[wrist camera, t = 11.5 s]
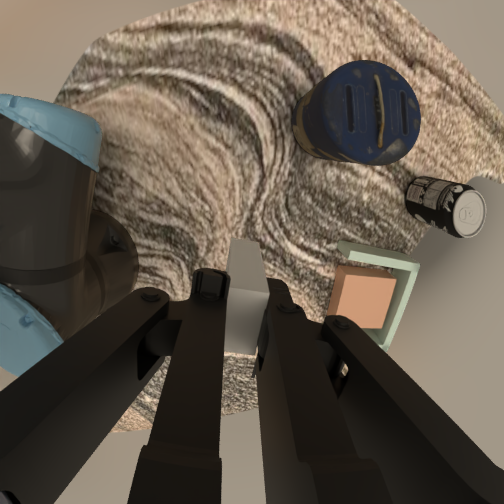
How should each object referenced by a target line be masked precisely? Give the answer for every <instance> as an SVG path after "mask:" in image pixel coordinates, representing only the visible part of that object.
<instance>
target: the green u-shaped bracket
mask: <svg viewBox="0 0 504 504" xmlns="http://www.w3.org/2000/svg"><path fill="white" fill-rule="evenodd" d="M337 249H338V250H339V251H340V252H341V253H342V254H343V255H344V256H345V257H346V258H347V259H348V260H353V261H359V262H364V263H370V264H375V265H381V266H386V267H392V268H393V270H392V273H391V275H392V276H394V277H395V278H396V279H397V280H396V283H395V287H394V290H393V294H392V297H391V301H390V304H389V307H388V310H387V314H386V317H385V320H384V323H383V326H382V329H381V328H372V329H371V328H361V329H362V330H363V331H364V332H365V333H366V334H367V335H368V336H369V337H370V338H371V339H372V340H373V341H374V342H376V343H377V344H378V345H379V346H380V347H381V348H382V349H383V350H384V351H385V352H387V350H388V348H389V346H390V344H391V341H392V339H393V337H394V334H395V332H396V330H397V327H398V324H399V322H400V320H401V317H402V315H403V312H404V309H405V307H406V304H407V302H408V299H409V296H410V293H411V291H412V288H413V285H414V282H415V279H416V276H417V274H418V271H419V267H420V264H419V263H418V262H417V261H415V260H413V259H412V258H411V257H409V256H408V255H406V254H405V253H401V252H396V251H391V250H387V249H382V248H377V247H372V246H367V245H362V244H357V243H352V242H347V241H342V240H339V242H338V245H337ZM321 324H323V323H321Z"/></svg>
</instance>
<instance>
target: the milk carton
mask: <svg viewBox="0 0 504 504" xmlns="http://www.w3.org/2000/svg"><path fill="white" fill-rule="evenodd" d="M17 378H18V377H17V376H15V375H13V374H11V373H9V372H8V371H6V370H5V369H3V368H2V367H0V391H1V390H3V389H4V388H5V387H6V386H8V385H9V384H10V383H12V382H13V381H14V380H15V379H17Z"/></svg>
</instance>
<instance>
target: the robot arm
mask: <svg viewBox="0 0 504 504" xmlns="http://www.w3.org/2000/svg"><path fill="white" fill-rule="evenodd" d="M101 141H102V130H101V127H100V125H99V123H98V122H97V121H96V120H95V119H94V118H92V117H90V116H88V115H86V114H84V113H81V112H79V111H76V110H73V109H70V108H67V107H64V106H60V105H57V104H53V103H49V102H46V101H42V100H38V99H33V98H28V97H20V96H14V95H10V94H0V367H2V368H3V369H5V370H6V371H8V372H9V373H11V374H13V375H15V376H17V377H18V378H17V379H15V380H14V381H13V382H12V383H10V384H9V385H8V386H6V387H5V388H4V389H3V390H1V391H0V504H54V502H55V501H56V500H57V499H58V497H59V496H60V495H61V493H62V492H63V491H64V490H65V488H66V487H67V486H68V484H69V483H70V482H71V481H72V479H73V478H74V477H75V475H76V474H77V473H78V472H79V470H80V469H81V468H82V466H83V465H84V464H85V463H86V461H87V460H88V459H89V457H90V456H91V455H92V454H93V452H94V451H95V450H96V448H97V447H98V446H99V445H100V443H101V442H102V441H103V439H104V438H105V437H106V436H107V434H108V433H109V432H110V431H111V429H112V428H113V427H114V425H115V424H116V423H117V422H118V420H119V419H120V418H121V416H122V415H123V414H124V413H125V411H126V410H127V409H128V407H129V406H130V405H131V404H132V402H133V401H134V400H135V398H136V397H137V396H138V395H139V393H140V392H141V391H142V389H143V388H144V387H145V386H146V384H147V383H148V382H149V380H150V379H151V378H152V377H153V375H154V374H155V373H156V372H157V370H158V369H159V368H160V366H161V365H162V364H163V363H164V360H165V356H172V357H171V361H170V364H169V367H168V371H167V374H166V378H165V382H164V385H163V389H162V392H161V396H160V400H159V403H158V407H157V411H156V414H155V418H154V422H153V426H152V430H151V434H150V438H149V441H148V444H147V446H146V445H143V447H142V449H141V452H140V455H139V458H138V462H137V466H136V470H135V474H134V477H133V482H132V486H131V490H130V494H129V498H128V503H127V504H221V483H222V461H221V458H219V441H220V419H221V398H222V379H223V360H224V351H226V352H232V353H240V354H247V355H255V353H256V348H257V346H258V354H257V358H256V362H255V366H254V370H253V374H252V377H251V378H254V377H255V375H256V379H257V392H258V405H259V418H260V430H261V443H262V456H263V467H264V481H265V493H266V504H504V470H503V469H501V468H499V467H498V466H496V465H495V464H494V463H493V462H492V461H491V460H490V459H489V458H488V457H487V456H486V455H485V454H484V453H483V451H482V450H481V449H480V448H479V447H478V446H477V445H476V444H475V443H474V442H473V441H472V440H471V439H470V438H469V437H468V436H467V435H466V434H465V433H464V431H463V430H462V429H461V428H460V427H459V426H458V425H457V424H456V423H455V422H454V421H453V420H452V419H451V418H450V417H449V416H448V415H447V414H446V413H445V412H444V411H443V410H442V409H441V408H440V407H439V406H438V405H437V404H436V403H435V402H434V401H433V400H432V399H431V398H430V397H429V396H428V395H427V394H426V392H424V391H423V390H422V388H421V387H419V385H418V384H417V383H416V382H415V381H414V380H413V379H412V378H410V376H409V375H408V374H407V373H406V372H405V371H403V369H402V368H401V367H400V366H399V365H398V364H397V363H396V362H395V361H394V360H393V359H392V358H391V357H390V356H388V354H387V353H386V352H385V351H384V350H383V349H382V348H381V347H380V346H379V345H378V344H377V343H376V342H374V341H373V340H372V339H371V338H370V337H369V336H368V335H367V334H366V333H365V332H364V331H363V330H362V329H361V328H360V327H359V326H358V325H357V324H356V323H355V322H354V321H352V320H351V319H348V318H347V317H345V316H342V315H328V316H327V317H325V319H324V323H323V324H321V323H317V322H314V321H311V320H308V319H307V317H306V314H305V312H304V310H303V309H302V307H300V306H299V305H297V304H295V303H293V300H292V297H291V295H290V292H289V289H288V286H287V284H286V283H284V282H283V281H282V280H279V279H273V278H267V277H266V274H265V269H264V265H263V260H262V255H261V251H260V246H259V242H254V241H248V240H243V239H237V238H231V243H230V249H229V255H228V260H227V266H226V272H225V271H221V270H217V269H211V268H201V269H197V270H195V271H194V273H193V280H192V288H191V295H190V298H189V299H187V300H184V301H169V299H170V298H169V295H168V294H167V293H166V292H165V291H163V290H160V289H157V288H154V287H145V288H139V289H137V290H134V291H133V292H132V293H131V291H132V290H133V288H134V286H135V284H136V281H137V277H138V271H139V262H138V255H137V251H136V248H135V245H134V243H133V241H132V239H131V237H130V235H129V234H128V232H127V231H126V230H125V228H124V227H123V226H122V225H121V224H120V223H119V222H118V221H117V220H115V219H114V218H113V217H111V216H109V215H107V214H105V213H103V212H100V211H96V210H91V207H92V200H93V194H94V188H95V182H96V176H97V173H99V166H98V161H99V154H100V147H101ZM100 314H101V315H100ZM98 315H100V316H98ZM97 316H98V317H97ZM96 317H97V318H96ZM95 318H96V319H95ZM344 364H346V365H347V367H348V372H347V374H346V376H344V375H343V374H342V372H341V371H342V369H343V367H344Z"/></svg>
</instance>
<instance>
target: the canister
mask: <svg viewBox="0 0 504 504" xmlns="http://www.w3.org/2000/svg"><path fill="white" fill-rule="evenodd" d="M420 124H421V113H420V107H419V103H418V100H417V98H416V95H415V93H414V91H413V89H412V88H411V86H410V85H409V83H408V82H407V81H406V80H405V79H404V78H403V77H402V76H401V75H400V74H399V73H398V72H397V71H395V70H394V69H392V68H391V67H389V66H387V65H385V64H382V63H380V62H376V61H370V60H358V61H352V62H349V63H346V64H344V65H342V66H340V67H339V68H337V69H336V70H334V71H333V72H332V73H331V74H329V75H328V76H327V77H325V78H324V79H323V80H322V81H320V82H319V83H318V84H317V85H315V86H314V87H313V88H312V90H310V91H309V92H308V93H307V94H306V95H304V96H303V97H302V98H301V99H300V100H299V102H298V103H297V105H296V106H295V109H294V111H293V115H292V129H293V133H294V136H295V138H296V140H297V142H298V143H299V145H300V146H301V147H302V148H303V149H304V150H305V151H306V152H308V153H309V154H311V155H312V156H314V157H317V158H320V159H325V160H334V161H339V162H350V163H358V164H364V165H373V166H381V165H387V164H391V163H393V162H396V161H398V160H400V159H401V158H403V157H404V156H405V155H406V154H407V153H408V152H409V151H410V150H411V149H412V147H413V146H414V144H415V142H416V140H417V138H418V135H419V132H420Z"/></svg>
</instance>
